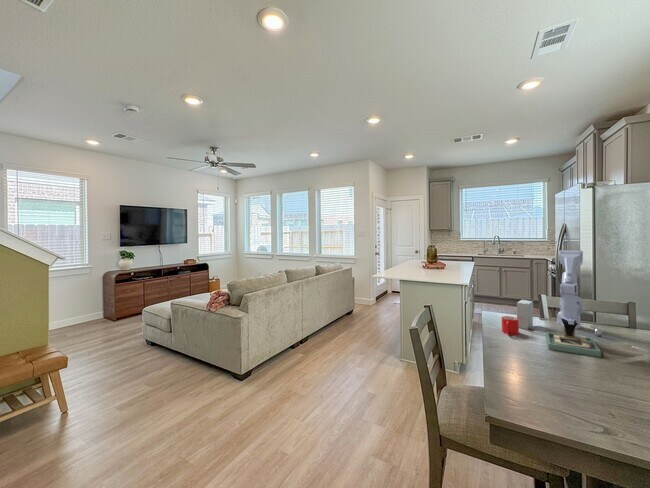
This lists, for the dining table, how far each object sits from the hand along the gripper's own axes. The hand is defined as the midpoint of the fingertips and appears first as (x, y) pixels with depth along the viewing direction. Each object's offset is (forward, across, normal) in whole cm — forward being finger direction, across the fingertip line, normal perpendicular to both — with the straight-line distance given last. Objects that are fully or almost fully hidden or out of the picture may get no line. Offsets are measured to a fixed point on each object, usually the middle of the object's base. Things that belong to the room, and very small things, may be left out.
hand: (569, 334), depth 142 cm
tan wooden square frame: (+2, -5, 0) cm, 6 cm away
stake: (+2, +11, -12) cm, 17 cm away
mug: (+4, +1, +25) cm, 25 cm away
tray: (+4, -6, 0) cm, 7 cm away
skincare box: (+4, +16, +18) cm, 24 cm away
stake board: (+4, +12, -13) cm, 18 cm away
